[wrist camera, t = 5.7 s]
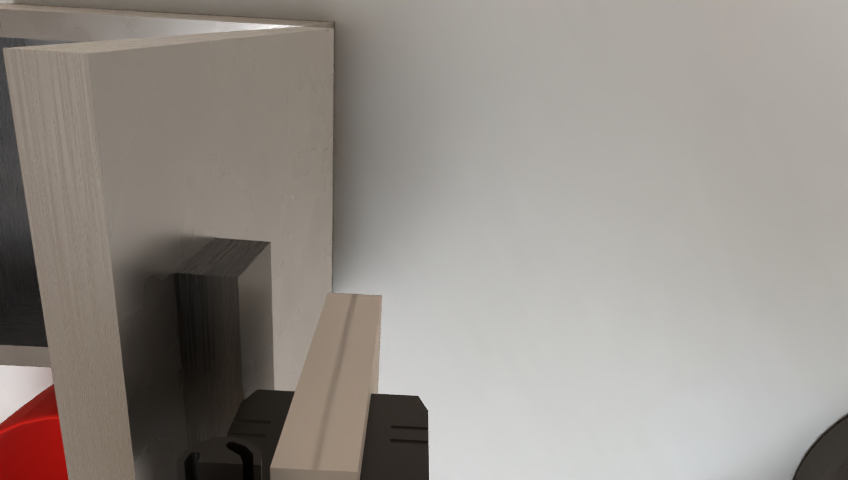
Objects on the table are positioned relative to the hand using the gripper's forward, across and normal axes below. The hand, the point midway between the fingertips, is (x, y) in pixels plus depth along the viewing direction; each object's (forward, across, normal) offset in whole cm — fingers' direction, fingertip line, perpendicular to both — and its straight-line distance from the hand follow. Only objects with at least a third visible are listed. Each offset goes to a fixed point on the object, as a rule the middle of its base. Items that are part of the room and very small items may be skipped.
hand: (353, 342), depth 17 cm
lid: (+2, +4, 0) cm, 4 cm away
